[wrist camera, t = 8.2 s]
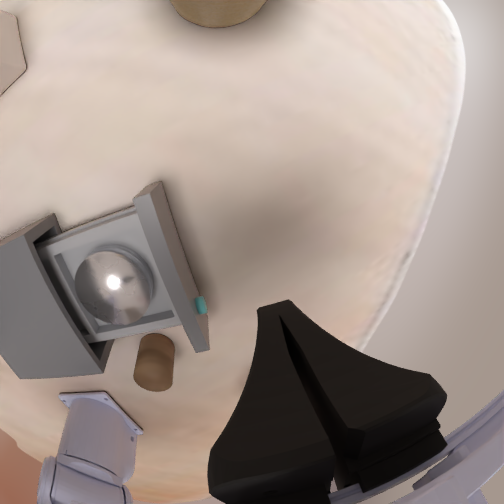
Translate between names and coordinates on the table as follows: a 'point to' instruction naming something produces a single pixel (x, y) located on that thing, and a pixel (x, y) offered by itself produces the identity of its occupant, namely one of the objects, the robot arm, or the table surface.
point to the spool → (155, 363)
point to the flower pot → (217, 11)
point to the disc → (114, 284)
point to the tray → (153, 253)
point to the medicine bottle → (10, 51)
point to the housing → (40, 314)
